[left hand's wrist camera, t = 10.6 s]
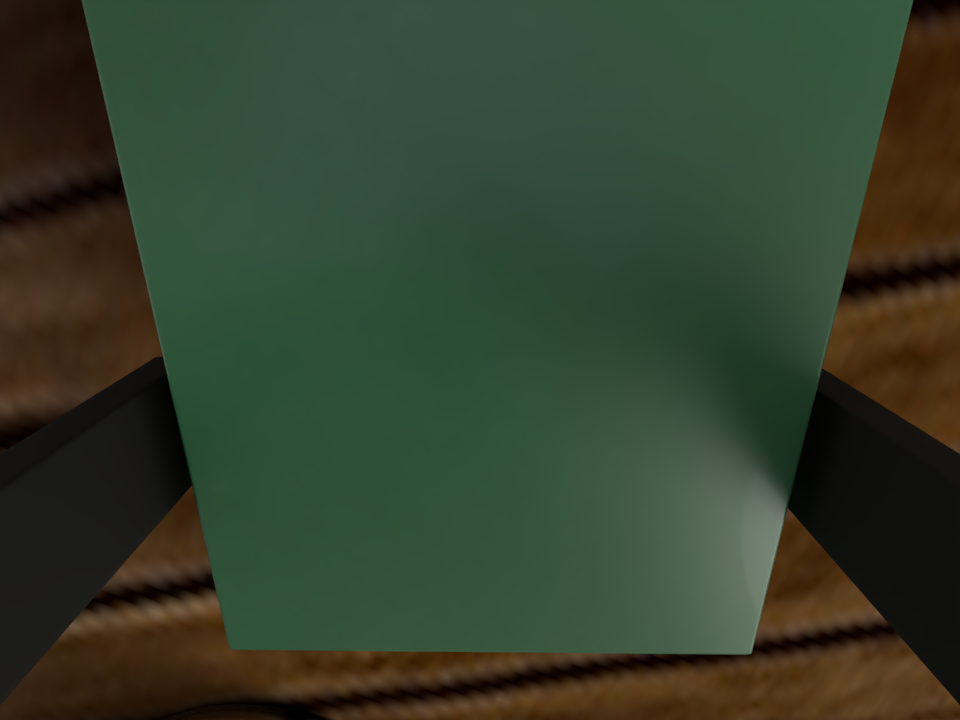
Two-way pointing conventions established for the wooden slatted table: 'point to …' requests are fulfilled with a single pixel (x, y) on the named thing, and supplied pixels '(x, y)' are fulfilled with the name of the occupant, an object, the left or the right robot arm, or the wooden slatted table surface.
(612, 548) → the cabinet
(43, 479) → the left robot arm
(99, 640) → the wooden slatted table surface
